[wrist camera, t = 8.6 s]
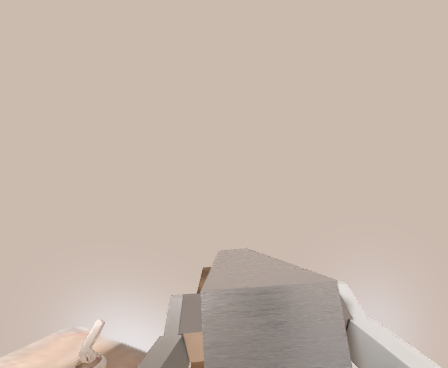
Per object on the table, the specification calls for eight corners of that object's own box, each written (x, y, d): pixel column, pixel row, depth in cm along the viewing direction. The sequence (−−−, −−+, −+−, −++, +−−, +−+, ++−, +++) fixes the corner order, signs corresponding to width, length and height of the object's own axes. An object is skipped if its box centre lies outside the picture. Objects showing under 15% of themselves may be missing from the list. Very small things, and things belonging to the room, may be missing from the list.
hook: (130, 329, 62) (113, 326, 56) (103, 387, 56) (81, 389, 50) (108, 319, 65) (91, 315, 59) (81, 372, 59) (58, 374, 53)
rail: (365, 447, 6) (337, 280, 7) (209, 461, 6) (200, 291, 7) (250, 278, 33) (247, 248, 34) (221, 280, 33) (219, 250, 34)
